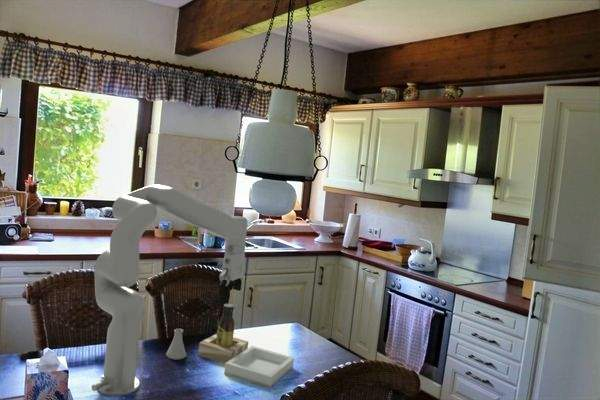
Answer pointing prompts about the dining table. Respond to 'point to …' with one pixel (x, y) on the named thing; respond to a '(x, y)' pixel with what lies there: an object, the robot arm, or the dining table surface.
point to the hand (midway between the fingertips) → (230, 292)
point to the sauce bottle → (226, 327)
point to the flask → (177, 346)
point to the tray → (259, 366)
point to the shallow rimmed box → (221, 349)
